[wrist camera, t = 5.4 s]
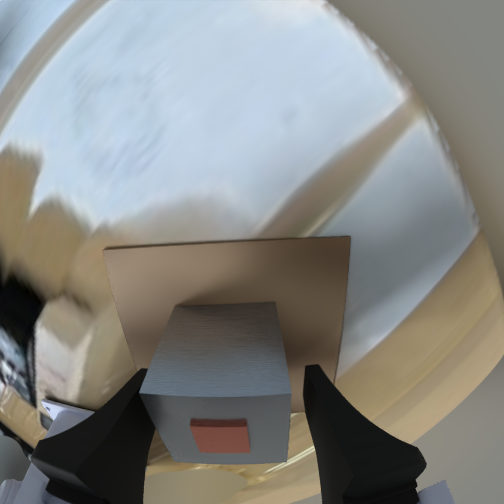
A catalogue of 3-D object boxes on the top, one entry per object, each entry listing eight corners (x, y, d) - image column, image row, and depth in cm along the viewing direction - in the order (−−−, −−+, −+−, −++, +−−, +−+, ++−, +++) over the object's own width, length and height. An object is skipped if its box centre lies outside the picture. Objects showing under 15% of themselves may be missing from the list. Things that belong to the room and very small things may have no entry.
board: (325, 398, 18) (333, 430, 15) (157, 402, 18) (148, 433, 15) (344, 231, 14) (366, 251, 11) (110, 244, 14) (83, 265, 11)
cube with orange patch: (276, 374, 15) (287, 465, 9) (191, 377, 15) (173, 464, 10) (275, 301, 14) (292, 397, 8) (174, 305, 14) (137, 396, 8)
